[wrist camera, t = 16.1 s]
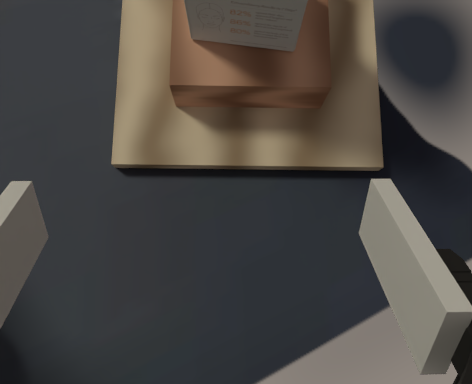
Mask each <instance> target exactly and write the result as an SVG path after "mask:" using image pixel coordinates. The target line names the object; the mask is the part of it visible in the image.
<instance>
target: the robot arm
mask: <svg viewBox="0 0 472 384" xmlns="http://www.w3.org/2000/svg"><path fill="white" fill-rule="evenodd" d="M359 235H360V237H361V240H362V242H363V244H364V246H365V249H366V251H367V253H368V256H369V258H370V260H371V263H372V265H373V267H374V269H375V272H376V274H377V276H378V279H379V281H380V283H381V285H382V288H383V290H384V292H385V295H386V297H387V299H388V302H389V304H390V306H391V308H392V311H393V313H394V315H395V317H396V320H397V322H398V325H399V327H400V329H401V331H402V334H403V336H404V338H405V341H406V343H407V345H408V348H409V350H410V352H411V354H412V357H413V359H414V361H415V364H416V366H417V368H418V370H419V373H420V374H421V375H424V374H446V372H447V370H448V368H449V366H450V363H451V361H452V363H453V365H454V367H455V369H456V371H457V373H458V375H457V377H456V379H455V381H454V383H453V384H472V274H471V270H470V269H469V267H468V266H467V265H466V263H465V262H464V260H463V259H462V258H461V257H459V256H458V255H457V254H455V253H454V252H453V251H452V250H450V249H435V248H434V246H433V245H432V243H431V241H430V240H429V238H428V237H427V235H426V234H425V232H424V231H423V229H422V227H421V226H420V224H419V223H418V221H417V220H416V218H415V217H414V215H413V213H412V212H411V210H410V209H409V207H408V206H407V204H406V202H405V201H404V199H403V198H402V196H401V195H400V193H399V192H398V190H397V188H396V187H395V185H394V184H393V182H392V181H391V179H371V181H370V186H369V190H368V195H367V199H366V204H365V208H364V213H363V217H362V222H361V226H360V231H359ZM47 239H48V234H47V230H46V227H45V224H44V220H43V217H42V214H41V210H40V207H39V204H38V200H37V197H36V194H35V190H34V187H33V184H32V181H11V182H10V184H9V185H8V186H7V188H6V189H5V190H4V192H3V193H2V194H1V195H0V329H1V327H2V325H3V323H4V321H5V319H6V317H7V316H8V314H9V312H10V310H11V308H12V306H13V304H14V302H15V300H16V298H17V296H18V294H19V293H20V291H21V289H22V287H23V285H24V283H25V281H26V279H27V277H28V275H29V273H30V271H31V270H32V268H33V266H34V264H35V262H36V260H37V258H38V256H39V254H40V252H41V250H42V249H43V247H44V245H45V243H46V241H47Z"/></svg>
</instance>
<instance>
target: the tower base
mask: <svg viewBox="0 0 472 384" xmlns="http://www.w3.org/2000/svg"><path fill="white" fill-rule="evenodd" d="M112 165H113V166H114V167H115V168H172V169H258V170H344V171H379V170H380V169H382V168H383V151H382V135H381V119H380V103H379V87H378V71H377V54H376V39H375V22H374V6H373V0H308V1H307V5H306V9H305V12H304V16H303V20H302V24H301V28H300V32H299V35H298V39H297V43H296V48H295V50H294V51H293V52H291V51H283V50H275V49H267V48H258V47H250V46H243V45H235V44H226V43H219V42H211V41H202V40H193V39H191V36H190V30H189V25H188V19H187V14H186V8H185V3H184V0H123V3H122V18H121V32H120V47H119V62H118V76H117V91H116V106H115V120H114V135H113V150H112Z"/></svg>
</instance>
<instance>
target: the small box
mask: <svg viewBox="0 0 472 384" xmlns="http://www.w3.org/2000/svg"><path fill="white" fill-rule="evenodd" d="M307 1H308V0H184V3H185V8H186V14H187V19H188V25H189V30H190V36H191V39H193V40H202V41H211V42H219V43H226V44H235V45H243V46H250V47H258V48H267V49H275V50H283V51H291V52H293V51H294V50H295V48H296V43H297V39H298V35H299V32H300V28H301V24H302V20H303V16H304V12H305V9H306V5H307Z"/></svg>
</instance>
